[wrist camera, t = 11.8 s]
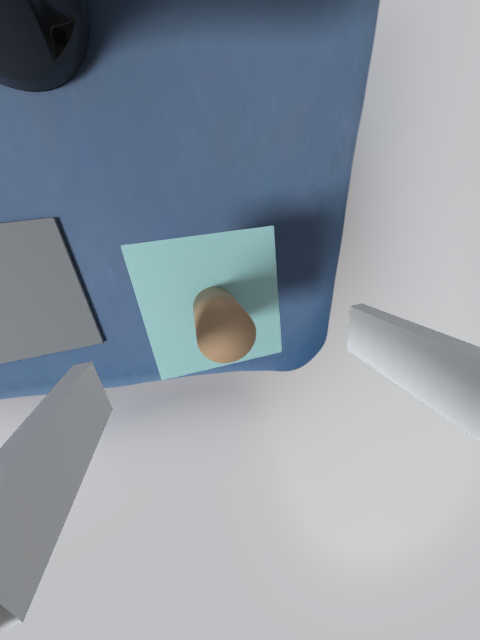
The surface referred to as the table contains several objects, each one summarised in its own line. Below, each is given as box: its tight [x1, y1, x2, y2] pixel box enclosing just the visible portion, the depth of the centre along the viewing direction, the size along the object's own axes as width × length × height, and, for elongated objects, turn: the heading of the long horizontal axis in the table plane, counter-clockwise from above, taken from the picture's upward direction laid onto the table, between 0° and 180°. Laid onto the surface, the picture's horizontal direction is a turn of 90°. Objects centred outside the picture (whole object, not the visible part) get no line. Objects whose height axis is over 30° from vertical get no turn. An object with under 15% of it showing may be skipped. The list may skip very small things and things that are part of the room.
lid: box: [121, 226, 282, 380], centre depth 18 cm, size 13×13×8 cm
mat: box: [0, 218, 104, 364], centre depth 30 cm, size 18×18×1 cm
